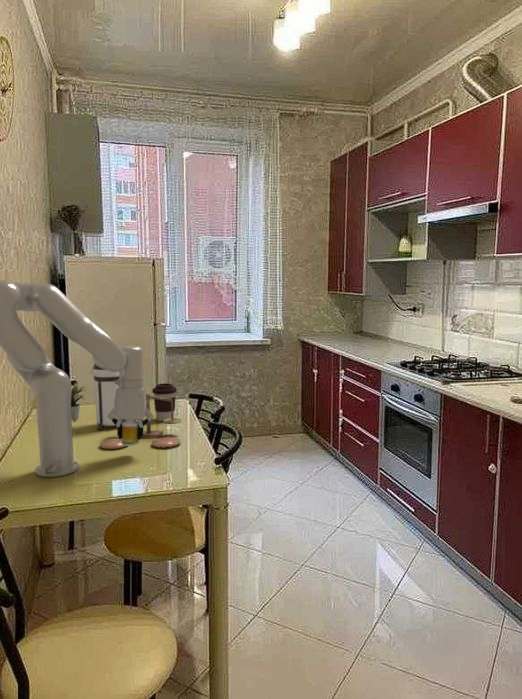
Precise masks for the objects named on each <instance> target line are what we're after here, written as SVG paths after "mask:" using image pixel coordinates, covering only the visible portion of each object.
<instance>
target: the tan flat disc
mask: <svg viewBox="0 0 522 699" xmlns="http://www.w3.org/2000/svg"><path fill="white" fill-rule="evenodd" d="M181 441H182V440H181V439H180V438H178V437H170V436H167V437H161V438H154V439H153V440H152V441H151V445H152V446H153V447H155V448H160V447H162V448H163V449H166V448H165V447H169V448H173V446H174V447H177V446H178V445H180V444H181V443H182V442H181Z"/></svg>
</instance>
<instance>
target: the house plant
mask: <svg viewBox="0 0 522 699" xmlns="http://www.w3.org/2000/svg"><path fill="white" fill-rule="evenodd" d="M73 384H74V385H73V386H72V392H71V420H76V421H78V420H79V417H80V409H81V404H80V403H77V402H79V400H80V399H82V400H85V398H86V397H85V396H84V395H85V393H84V394H81V395H79V393H81V392H84V391H86V389H84V388H86V387H87V386H89V385H88V384H87V385H84V386H81V387H79V385H80V383H78V384H77V382H75V383H73ZM78 387H79V388H78ZM77 419H78V420H77Z"/></svg>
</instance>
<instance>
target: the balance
mask: <svg viewBox="0 0 522 699" xmlns="http://www.w3.org/2000/svg"><path fill="white" fill-rule="evenodd" d="M154 399H157V400H164V401H170V402H171V416H172V418H169V419H165V420H163V424H166V425H176V424H180V423H182V419H181V418H178V417H174V418H173V404H172V399H168V398H162V397H155V396H154V395H151V394H150V393H146V403H147V408H148V410H149V411H150V412H151V403H150V402H151V401H150V400H154ZM145 417H146V418H148V415H147V414H146V416H145ZM146 418H145V419H146ZM151 429H152V428H151V420H150V421H149V422H148V423H147V424H146V430H143V437H141V439H158V438H163V436H164V429H163V430H162V429H161V430H160V429H157V430H156V429H155V430H151Z"/></svg>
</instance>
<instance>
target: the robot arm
mask: <svg viewBox="0 0 522 699" xmlns="http://www.w3.org/2000/svg"><path fill="white" fill-rule="evenodd" d="M18 311H20V312H21V311H22V312H39V313H41V314H42V315H43V316H44V317H45V318H46V320H48V321H49V322H50V323H51V324H52V325H53V326H54V327H55V328H57V330H58V331H59V332H60V333H62V334H63V335H64V336H65V337H67V339H68V340H70V341H71V342H73V343H75V344H77V345H79V346H81V347H82V348H83V349H84V350H85V351H87V352H88V353H89V354H91V355H92V360H93V363H94V364H96V365H97V366H98V367H100V368H102V369H105V370H107V371H110V372H118V371H119V380H115V384H117V385H118V386H119V388H117V389H116V393H115V401H114V409H113V410H112V411H111V412H110V413H109V414H108V415H107V417H108V418H109V419H110V420H112V422H113V423H114V424H115V427H117V428H116V429H117V433H116V434H117V435H116V436H117V437H118V438H119V439H122V422H123V419H126V420H136V421H138V423H139V427H138V440H139V441H140V440H141V439H142V438H141V437H143V431H144V427H145V426H147V423H148V422H149V421H150V422H151V421H152V420H153V419H154V417H155V416H154V414H153V413H152V412H151V410H150V411H149V410H148V408H147V403H146V394H147V393H146V390H145V387H143V385H144V379H143V378H144V349H143V348H142V347H141V346H136V345H135V346H134V345H128V346H127V345H126V346H119V345H118V344H117V343H116V342H115V341H114V340H113V339H112V338H111V337H110V336H109V335H108V334H107V333H105V332H104V331H103V330H102V329H101V328H100V327H99V326H98V325H96V323H94V322H93V321H92V320H91V319H89V318H88V317H87V316H86V315H85V314H84V313H83V312H82V311H81V310H80V309H79V308H78V307H77V306H76V305H75V304H74V303H73V302H72V301H71V300H70V298H68V297H67V296H66V295H65V293H63V292H62V291H61V290H60V289H59V288H58V287H57V286H55V285H54V284H50V283H27V282H14V281H13V282H12V281H10V280H5V279H3V280H2V279H1V280H0V347H1V349H2V350H3V351H4V352H5V354H6V358H7V360H8V362H9V364H10V366H12V367H13V368H14V369H15V371H16V372H17V373H18V374H19V376H20V377H21V378H22V379H23V380H24V381H25V382H26V384H27V385H28V386H29V387H30V388H31V389H32V390H33V391H34V392H35V393H37V398H36V400H37V401H36V418H37V421H36V422H37V430H38V432H37V433H38V434H37V435H38V446H39V448H38V450H39V451H38V452H39V464H38V466H35V469H34V473H35V475H36V476H38V477H43V478H55V477H63V476H67V475H70V474H72V473H74V472H77V471H78V470H79V469H80V463H79V462H78V461H76V460H74V447H73V443H74V442H73V427H72V426H73V424H72V422H73V421H71V392H72V388H73V386H72V382H71V379H70V377H69V375H68V374H67V373H66V372H65V371H64V370H63V369H60V368H58V367H56V366H55V365H54V363H53V362H52V361H51V360H50V359H49V357H48V356H47V352H46V350H45V347H43V345H42V344H41V343H40V342H39V341H38V340H37V339H36V338H35V337H34V336H33V335H32V333H31V332H30V331H29V330H28V329H27V327H26V326H25V324H24V323H23V322H22V320H21V318H20V317H19V313H18ZM113 414H114V416H113ZM146 414H147V415H148V418H145V417H146ZM117 419H118V420H117Z"/></svg>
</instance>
